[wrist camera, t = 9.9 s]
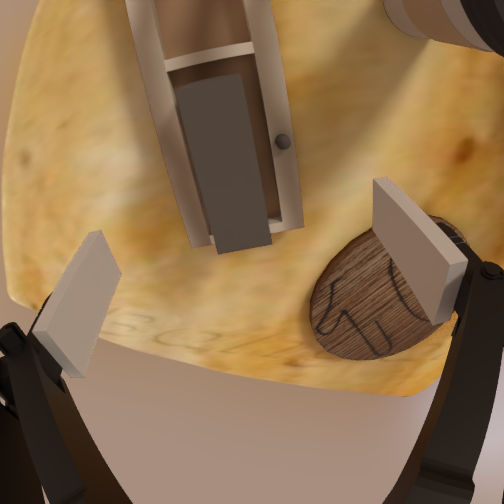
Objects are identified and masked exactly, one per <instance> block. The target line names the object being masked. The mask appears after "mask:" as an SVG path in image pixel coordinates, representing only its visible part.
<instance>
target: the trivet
mask: <svg viewBox="0 0 504 504" xmlns="http://www.w3.org/2000/svg"><path fill="white" fill-rule="evenodd" d="M428 216H429V218H430V219H431V220H432V221H433V222H434V223H439V222H442V223H444V224H445V225H447V226H449V227H451V228H452V229H453V230H454V231H455V232H456V233H457V234H458V237H461V238H462V240H463V241H464V243H466V244H467V245H468V246H469V244H468V243H467V241H466V239H465V238H464V236H463V235H462V233H461V232H460V231H459V230H458V229H457V228H456V227H454V226H453V225H451V224H450V223H448V222H447V221H445V220H444V219H442V218H440V217H435V216H430V215H428ZM469 247H470V246H469ZM454 311H455V310H454V309H453V312H454ZM453 312H452V313H453ZM310 322H311V326H312V329H313V331H314V334H315V336H316V339H317V341H318V342H319V343H320V344H321V345H322V346H323V347H324V349H325V350H326V351H327V352H330V353H332V354H334V355H336V356H338V357H340V358H345V359H351V360H373V359H379V358H383V357H387V356H391V355H394V354H396V353H399V352H401V351H404V350H406V349H408V348H411V347H412V346H414V345H416V344H417V343H419V342H421V341H422V340H424V339H425V338H427V337H428V336H429V335H431V334H432V333H433V332H434V331H436V330H437V329H438V328H439V327H440V326H441V325H443V323H444V322H443V323H440V324H436V325H432V323H431V322H430V320H429V318H428V316H427V315H426V313H425V311H424V309H423V308H422V306H421V304H420V303H419V301H418V299H417V298H416V296H415V294H414V293H413V291H412V289H411V288H410V286H409V285H408V283H407V281H406V280H405V278H404V277H403V275H402V273H401V272H400V270H399V269H398V267H397V266H396V264H395V262H394V261H393V259H392V258H391V256H390V255H389V253H388V252H387V250H386V249H385V247H384V246H383V244H382V243H381V241H380V240H379V238H378V237H377V235H376V234H375V233H374V231H373V230H372V228H370V229H369V230H367V231H366V232H364V233H362V234H361V235H359V236H358V237H356V238H355V239H353V240H351V241H350V242H349V243H348V244H347V245H346V246H345V247H344V248H343V249H342V250H341V251H340V252H339V253H338V254H337V255H336V256H335V257H334V258H333V259H332V260H331V261H330V262H329V264H328V265H327V267H326V268H325V270H324V271H323V273H322V274H321V276H320V277H319V279H318V280H317V282H316V285H315V288H314V291H313V294H312V296H311V299H310Z"/></svg>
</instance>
